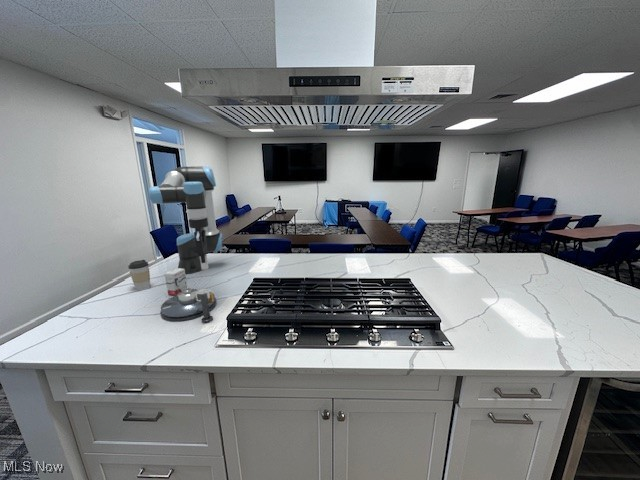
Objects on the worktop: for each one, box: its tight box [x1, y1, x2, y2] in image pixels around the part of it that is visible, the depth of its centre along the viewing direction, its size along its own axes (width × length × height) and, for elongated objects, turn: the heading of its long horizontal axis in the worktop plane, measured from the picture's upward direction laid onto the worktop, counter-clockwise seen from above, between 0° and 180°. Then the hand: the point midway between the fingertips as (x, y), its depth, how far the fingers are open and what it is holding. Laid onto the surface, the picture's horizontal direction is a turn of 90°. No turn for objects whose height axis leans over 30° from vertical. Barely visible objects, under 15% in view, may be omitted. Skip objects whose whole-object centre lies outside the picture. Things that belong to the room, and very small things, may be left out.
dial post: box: [196, 288, 214, 324], centre depth 104 cm, size 5×5×13 cm
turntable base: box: [160, 297, 218, 323], centre depth 115 cm, size 23×23×1 cm
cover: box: [178, 287, 199, 305], centre depth 114 cm, size 8×8×6 cm
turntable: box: [160, 291, 216, 318], centre depth 114 cm, size 22×22×6 cm
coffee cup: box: [128, 259, 151, 291], centre depth 135 cm, size 9×9×15 cm
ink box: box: [164, 267, 188, 296], centre depth 130 cm, size 9×5×12 cm, turn 167°
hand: (205, 268), depth 115 cm, fingers closed
